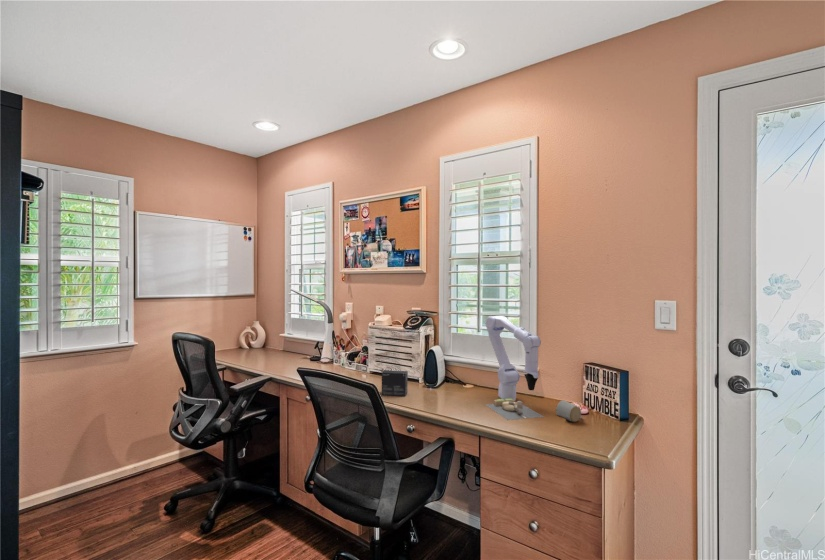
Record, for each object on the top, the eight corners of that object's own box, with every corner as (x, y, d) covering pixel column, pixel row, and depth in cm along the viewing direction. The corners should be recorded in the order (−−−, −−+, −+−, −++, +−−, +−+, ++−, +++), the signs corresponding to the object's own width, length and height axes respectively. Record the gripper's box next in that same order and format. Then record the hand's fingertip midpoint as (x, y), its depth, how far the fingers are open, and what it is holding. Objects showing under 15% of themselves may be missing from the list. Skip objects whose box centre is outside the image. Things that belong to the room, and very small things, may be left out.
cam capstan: (499, 406, 189) (499, 394, 189) (514, 405, 191) (514, 393, 191) (512, 415, 176) (512, 403, 176) (529, 414, 178) (529, 402, 178)
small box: (407, 393, 216) (408, 370, 216) (405, 396, 209) (406, 373, 209) (383, 391, 218) (384, 369, 218) (381, 395, 211) (381, 372, 211)
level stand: (484, 407, 192) (484, 399, 192) (518, 405, 197) (518, 396, 197) (507, 423, 171) (507, 413, 171) (544, 420, 176) (544, 410, 176)
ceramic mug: (571, 424, 171) (571, 406, 171) (555, 418, 178) (555, 401, 178) (586, 420, 177) (587, 403, 177) (571, 415, 184) (571, 398, 184)
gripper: (518, 358, 197) (518, 385, 197) (527, 364, 183) (527, 394, 183) (533, 358, 197) (532, 386, 197) (543, 364, 183) (542, 394, 183)
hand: (531, 389), depth 190 cm, fingers closed
